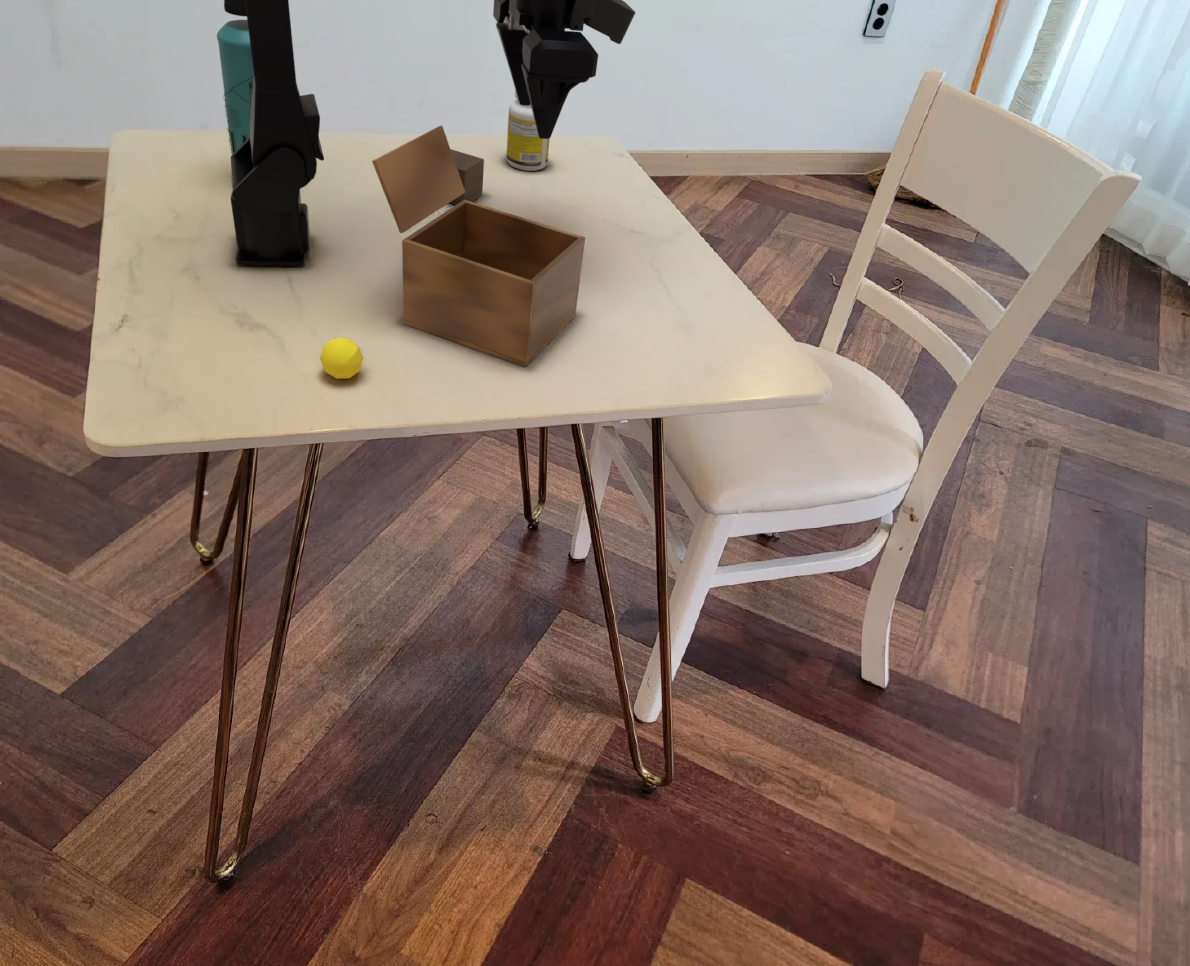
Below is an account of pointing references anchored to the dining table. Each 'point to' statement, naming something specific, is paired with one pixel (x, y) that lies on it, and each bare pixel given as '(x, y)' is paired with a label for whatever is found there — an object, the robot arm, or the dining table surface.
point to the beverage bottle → (236, 73)
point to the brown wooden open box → (491, 280)
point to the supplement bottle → (525, 139)
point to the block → (469, 176)
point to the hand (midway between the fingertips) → (534, 121)
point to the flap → (419, 178)
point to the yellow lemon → (341, 358)
